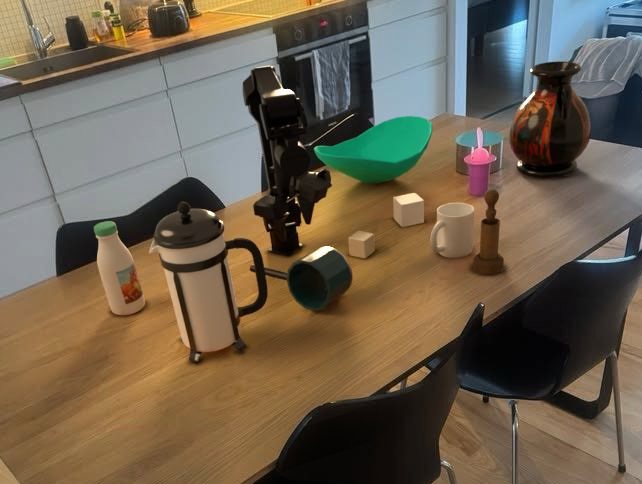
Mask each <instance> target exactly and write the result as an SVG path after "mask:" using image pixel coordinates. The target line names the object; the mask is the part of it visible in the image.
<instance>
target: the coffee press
mask: <svg viewBox="0 0 642 484" xmlns="http://www.w3.org/2000/svg"><path fill="white" fill-rule="evenodd" d="M176 208H177V211H175V212H172V213H170V214H167V215H166V216H165V217H163V218H162V219H160V221H159V222H158V223H157V224H156V227H155V231H154V233H153V240H152V242H151V245H150V247H149V251H148V254H150V255H151V254H155V253H158V256H159V261H160V265H161V266H162V268H163V270H164V271H163V272H164V275H165V278H166V282H167V286H168V287H167V288H168V290H169V294H170V295H169V296H170V299H171V302H172V303H171V304H172V307H173V311H174V314H175V319H176V322H177V326H178V331H179V334H180V337H181V340H182V343H183V345H184V346H185V347H187V348H188V349H189V355H188V362H190V363H193V364H198V363H199V361H200V359H201V355H202V353H212V352H217V351H221V350H224V349H226V348H228V347H230V346H232V347H233V348H234V349H235V350H236V351H238V352H240V353H242V352H243V351H244V350H245V349H246V348H247V344H246V343H245V342H244V340H243V339H242V338H241V333H242V325H241V318H244V317H246V316H249V315H252V314H254V313H256V312H259V311H260V310H261V309H262V308H263V307H264V306H265V305H266V303H267V301H268V297H269V294H268V293H269V292H268V291H269V290H268V282H267V276H266V275H265V269H264V267H265V264H264V259H263V255H262V252H261V250H260V248H259V247H258V245H257V244H256V243H255V242H254V241H252V240H251V239H249V238H245V237H236V238H235V237H234V239H231V240H226V239H225V235H224V232H225V223H224V222H223V220H221V219H220V218H219V217H218V215H217V214H216V213H215V212H213V211H211V210H207V209H203V208H191V205H190V204H189V203H188V202H186V201H181V202H179V203H178V205H177V207H176ZM233 249H245V250H247V251H248V252H249V253H250V254H251V256H252V260H253V261H252V262H253V265H254V267H255V272H254V273H255V279H256V284H257V291H258V294H257V296H256V297H257V298H256V299H255V301H253V302H252V303H250V304H247V305H244V306H238V304H237V298H236V293H235V288H234V283H233V278H232V273H231V272H232V271H231V267H230V262H229V257H228V255H229V250H233Z"/></svg>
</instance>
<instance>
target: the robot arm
mask: <svg viewBox="0 0 642 484" xmlns="http://www.w3.org/2000/svg"><path fill="white" fill-rule="evenodd" d="M242 96H243V97H242V98H243V103H244V106H245V107H247V108H248V113H249V115H250V116H251V118H252V119H253V120H254V121H255V123H257V128H258V134H259V140H260V147H261V152H262V158H263V164H264V169H265V176H266V181H267V191H266V193H265V195H264V196H263V197H261V198H259V199H257V200H256V201H255V202H254V203H253V205H252V207H253V208H252V209H253V213H254V216H256V217H260V218H262V221H263V226H264V228H265V231H266V233H269V237H270V238H269V239H270V244H271V247H269V248H268V249H267V252H268V253H272V254H277V255H280V256H285V257H288V256H290V255H291V254H293V253H295V252H297V251H298V250H299V249H301V248H302V247H303V243H300V238H299V232H298V230H297V227H298V228H299V227H301V225H302V219H303V221H304V223H305V225H308V226H310V225H311V223H312V219H313V214H314V210H315V205H316V204H318V203H319V202H320V201H321V200H323V199H325V198H326V197H327V194H328V190H329V189H330V188H331V187H333V184H332V183H331V182H332V176H331V172H330V170H328V169H326V168H322V169H321V170H319V172H316V171H309V167H310V164H311V157H310V154H309V152H308V151H307V149H306V148H305V146H304V145H303V143H302V142H301V139H300V135H305V134H308V132H307V128H308V124H309V123H308V119H307V115H306V111H305V107H304V104H303V103H302V102H301V99H300V98H299V97H297V96H296V93H295V92H294V91H292V90H291V89H285V88H284V87H283V86H282V82H281V77H280V75H279V74H278V73H277V71H276V67H275V66H271V65H264V66H258V67H254V68H253V69H250V75H248V77H246V79H244V80H243V82H242ZM296 200H297V201H296Z"/></svg>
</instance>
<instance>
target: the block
mask: <svg viewBox="0 0 642 484" xmlns="http://www.w3.org/2000/svg"><path fill="white" fill-rule="evenodd" d="M347 238H348V239H347V242H348V250H349V251H348V254H349V256H353V257H356V258H360V259H367V258H368V257H369V256H370V255H372V254H373V253H375V252H376V244H375V243H376V242H375V233H372V232H367V231H361V230H357V231H356V232H354V233H353V234H352V235H350V236H349V237H347Z"/></svg>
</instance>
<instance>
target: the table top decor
mask: <svg viewBox="0 0 642 484" xmlns="http://www.w3.org/2000/svg"><path fill="white" fill-rule="evenodd" d="M432 135H433V123H432V122H431V121H430V120H429V119H427V118H425V117H421V116H414V115H407V116H397V117H394V118H391V119H388V120H387V119H386V120H384V121H382V122H380V123H378V124H376V125H373V126H372V127H370V128H368V129H367V130H365V131H364V132H362V133H361V134H359V135H358V136H355V137H353V138H350V139H348V140H344V141H342V142H340V143H338V144H334V145H333V146H332V145H317V146H315V147H314V148H313V151H314V153H315V156H316V157H317V158H318V159H319V160H320V161H321V162H322V163H323V164H324V165H326V166H328V167H330V168H331V169H333V170H334V171H337V172H339V173H341V174H343V175H345V176H348V177H350V178H352V179H354V180H357V181H359V182H360V183H363V184H369V185H370V184H371V185H373V184H380V183H385V182H388V181H391V180H394V179H396V178H399V177H401V176H402V175H404V174H406V173H408V172H410V170H411V169H413V168H414V167H415V166H416V165H417V163H418V162H419V161H420V160H421V157H422V156H423V155H424V153H425V152H426V150H427V148H428V146H429V143H430V141H431V138H432Z"/></svg>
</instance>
